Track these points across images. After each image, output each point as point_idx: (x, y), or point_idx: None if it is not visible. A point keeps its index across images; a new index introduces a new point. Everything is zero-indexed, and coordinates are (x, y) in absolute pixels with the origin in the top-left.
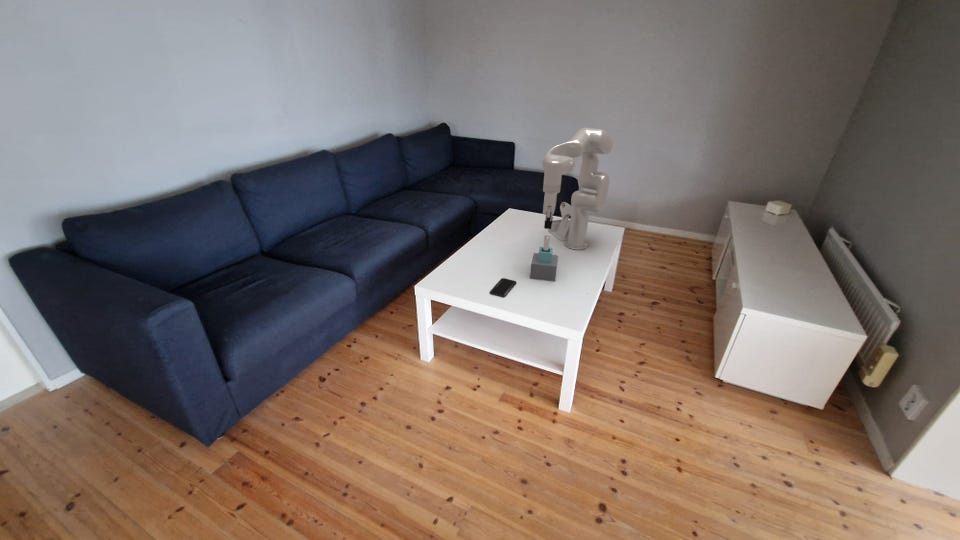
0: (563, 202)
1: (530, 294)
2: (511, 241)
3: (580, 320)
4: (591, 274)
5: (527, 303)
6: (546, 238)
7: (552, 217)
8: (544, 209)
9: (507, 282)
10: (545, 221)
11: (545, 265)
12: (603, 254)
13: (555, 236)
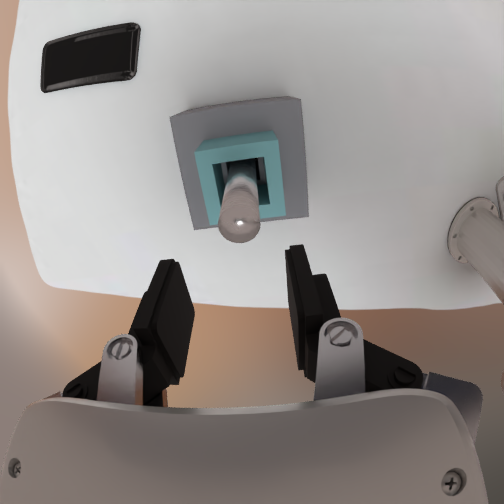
0: None
1: (88, 151)
2: (466, 13)
3: (67, 288)
4: None
5: (49, 162)
6: (218, 221)
7: (304, 369)
8: (8, 476)
9: (115, 53)
10: (142, 323)
11: (183, 183)
12: (421, 301)
13: None
